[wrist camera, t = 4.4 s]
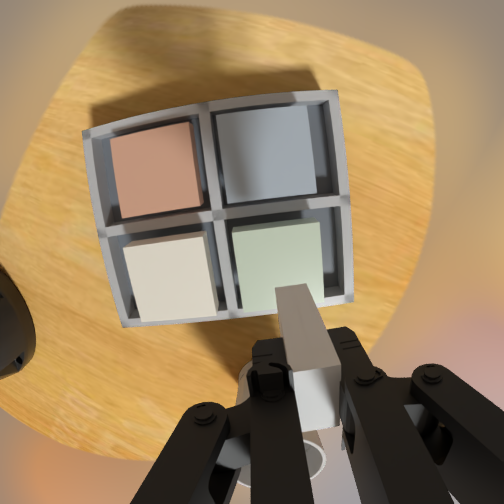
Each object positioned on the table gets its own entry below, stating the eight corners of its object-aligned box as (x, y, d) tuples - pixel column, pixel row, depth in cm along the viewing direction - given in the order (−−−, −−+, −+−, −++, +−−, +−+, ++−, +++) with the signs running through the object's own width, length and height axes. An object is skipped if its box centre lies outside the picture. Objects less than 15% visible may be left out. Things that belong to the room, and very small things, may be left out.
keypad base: (136, 308, 30) (122, 327, 26) (102, 134, 25) (81, 131, 21) (341, 284, 30) (353, 301, 26) (325, 99, 25) (337, 89, 21)
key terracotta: (131, 214, 24) (122, 218, 22) (119, 140, 23) (109, 139, 21) (203, 202, 24) (200, 206, 22) (193, 125, 22) (188, 121, 20)
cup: (215, 378, 32) (204, 466, 21) (270, 335, 31) (281, 422, 19) (266, 415, 34) (272, 498, 22) (319, 377, 33) (345, 461, 21)
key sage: (243, 301, 25) (243, 312, 23) (233, 227, 24) (231, 232, 22) (318, 291, 25) (324, 302, 23) (313, 217, 24) (319, 222, 22)
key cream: (148, 311, 25) (141, 322, 23) (131, 241, 24) (122, 247, 22) (218, 304, 25) (216, 315, 23) (206, 230, 24) (202, 236, 22)
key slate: (229, 200, 23) (227, 203, 21) (218, 119, 21) (215, 115, 20) (311, 190, 23) (316, 193, 21) (301, 110, 21) (306, 105, 19)
